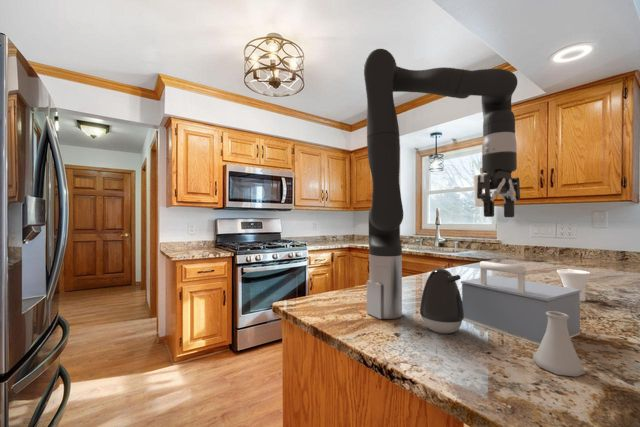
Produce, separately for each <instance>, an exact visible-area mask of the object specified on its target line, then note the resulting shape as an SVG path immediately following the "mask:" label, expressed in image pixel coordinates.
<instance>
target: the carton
mask: <svg viewBox="0 0 640 427" xmlns="http://www.w3.org/2000/svg"><path fill="white" fill-rule="evenodd" d="M461 299H462V304H463V310H464V319H463V320H462V321H464V322H467V323H470V324H473V323H474V325H477V326H479V327H483V328H485V329H489V330H492V331H494V332H498V333H501V334H504V335H507V336H510V337H512V338H516V339H519V340H522V341H525V342H529V343H531V344H534V345H536V346H540V344H541V341H542V339H543V337H544V335H545V333H546V329H547V324H548V316H547V315H546V312H548V311H554V312H561V313H564V314H567V315H568V316H569V318H568V319H567V328H568V333H569V337H570V339H571V338H574V337H577V336H579V335H580V334H581V314H580V313H581V301H580V293H576V294H573V295H569V296H565V297H562V298H558V299H555V300H551V301H543V300H539V299H534V298H529V297H524V296H519V295H515V294H510V293H505V292H500V291H496V290H491V289H486V288H481V287H477V286H472V285H467V284H462V283H461Z"/></svg>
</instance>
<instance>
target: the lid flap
mask: <svg viewBox="0 0 640 427" xmlns="http://www.w3.org/2000/svg"><path fill="white" fill-rule="evenodd" d="M479 268H480V277H479V278H471V279H465V280H461V281H460V284H461V285H462V284H467V285H472V286H477V287H481V288H486V289H491V290H496V291H500V292H505V293H510V294H515V295H519V296H524V297H529V298H534V299H539V300H543V301H551V300H555V299H558V298H562V297H565V296H569V295H573V294H576V293H580V292H581V290H579V289H573V288H567V287H564V286H561V285H555V284H548V283H544V282H543V283H542V282H537V281H530V280H526V272H527V269H526V267H525V266H522V265H514V264H506V263H497V262H492V261H491V262H490V261H483V260H481V261H480V262H479ZM488 271H491V272H492V271H493V272H500V273H506V274H507V273H508V274H513V275H517V278H514V277H513V278H512V277H506V276H501V275H492V276H491V275H489V276H488Z"/></svg>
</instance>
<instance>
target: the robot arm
mask: <svg viewBox="0 0 640 427" xmlns="http://www.w3.org/2000/svg"><path fill="white" fill-rule="evenodd" d="M362 72H363V78H364V79H363V80H364V83H365V84H364V85H365V94H366V101H367V102H366V103H367V104H366V107H367V108H366V149H367V151H366V152H367V158H368V164H369V169H370V173H371V178H372V197H371V198H372V199H371V200H372V202H371V206H370V209H369V211H368V249H369V250H368V251H369V253H368V256H369V258H368V259H369V266H368V268H369V272H368V274H369V277H368V280H366V314H368V315H370V316H373V317H374V318H377V319H379V320H384V319H387V320H388V319H389V320H391V319H392V320H394V319H398V318H401V317H402V316H403V281H402V280H403V263H402V262H403V259H402V258H403V254H402V252H403V251H402V250H403V246H402V243H401V234H400V233H401V232H400V230H401V224H402V223H403V220H404V206H403V201H402V194H401V187H400V186H401V185H400V167H401V166H400V164H401V162H400V161H401V159H400V158H401V147H400V146H401V144H400V142H401V139H400V128H399V120H398V115H397V111H396V110H397V109H396V106H395V102H394V92H395V93H398V92H401V93H417V94H418V93H419V94H420V93H421V94H429V95H436V96H442V97H446V98H447V97H448V98H454V99H460V100H461V99H467V98H469V97H470V96H476V97H477V96H478V97H480V96H481V109H482V110H481V111H482V112H481V113H482V116H483V121H482V123H483V124H482V134H483V135H482V138H483V139H482V145H481V164H482V165H481V166H482V167H481V168H482V169H481V171H482V173H483V174H478V175H477V185H476V186H477V187H476V190H477V193H476V198H477V199H479V200H481V202H483V216H484V217H485V218H493V217H495V201H494V200H495V198H496V196H498V195H499V196H500V197H501V198H502V200H503V202H504V203H503V216H504V218H514V217H515V203H516V202H517V201H520V200H521V188H520V186H521V185H520V178H519V177H512V173H513V172H515V171H517V169H518V168H517V166H518V164H517V162H518V159H517V158H518V157H517V150H518V149H517V147H518V146H517V137H516V119H515V117H516V116H515V113H514V112H513V110H512V96H513V94H514V92H515V91H516V89H517V86H518V77H517V75H516V74H515V73H513V72H512V71H510V70H508V69H504V68H482V69H476V70H475V69H474V70H469V69H463V68H455V67H443V66H442V67H435V68H428V69H419V70H418V69H417V70H415V69H407V68H404V67H401V66H398V65H397V62H396V59H395V57H394V56H393V54H392V53H391V52H390V51H388V50H387V49H384V48H376V49H374V50H372V51H371V52H370V53H368V55H367V56H366V58H365V60H364V63H363V69H362Z"/></svg>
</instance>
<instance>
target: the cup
mask: <svg viewBox="0 0 640 427" xmlns="http://www.w3.org/2000/svg"><path fill="white" fill-rule="evenodd" d="M556 273H557V274H558V276H559V277H560V279H561V282H562V285H563V286H562V287H567V288H573V289H579V290H581V292H580V302H585V301H587V300H586V299H587V298H586V287H587V285H588V284H587V283H588V279H589V277H590V275H591V272H590V271H586V270H580V269H572V268H566V269H565V268H560V269H556Z"/></svg>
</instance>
